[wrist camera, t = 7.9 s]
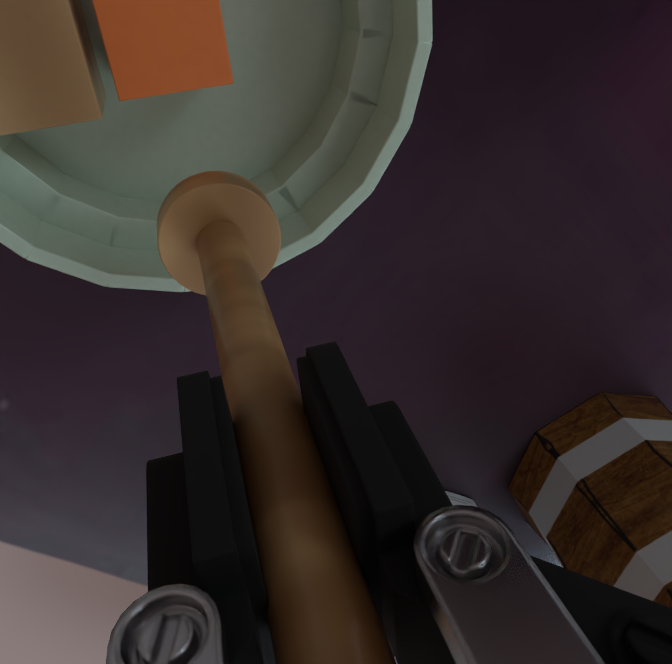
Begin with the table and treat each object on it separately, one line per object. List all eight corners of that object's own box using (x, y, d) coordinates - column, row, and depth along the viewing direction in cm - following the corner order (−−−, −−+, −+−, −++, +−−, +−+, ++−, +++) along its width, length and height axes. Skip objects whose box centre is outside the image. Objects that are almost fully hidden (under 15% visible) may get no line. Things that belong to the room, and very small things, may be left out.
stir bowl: (4, 268, 28) (-23, 336, 23) (-233, -286, 18) (-366, -371, 13) (387, 194, 31) (435, 240, 26) (361, -313, 22) (428, -391, 17)
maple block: (1, 113, 24) (-20, 139, 21) (-42, -3, 22) (-73, 6, 19) (106, 97, 25) (102, 119, 22) (75, -17, 23) (65, -11, 20)
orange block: (121, 81, 25) (119, 101, 22) (90, -35, 23) (82, -32, 20) (220, 66, 26) (233, 83, 22) (200, -48, 23) (211, -47, 20)
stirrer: (172, 290, 20) (224, 858, 8) (142, 182, 18) (150, 708, 6) (282, 268, 21) (496, 761, 8) (265, 160, 19) (515, 595, 6)
